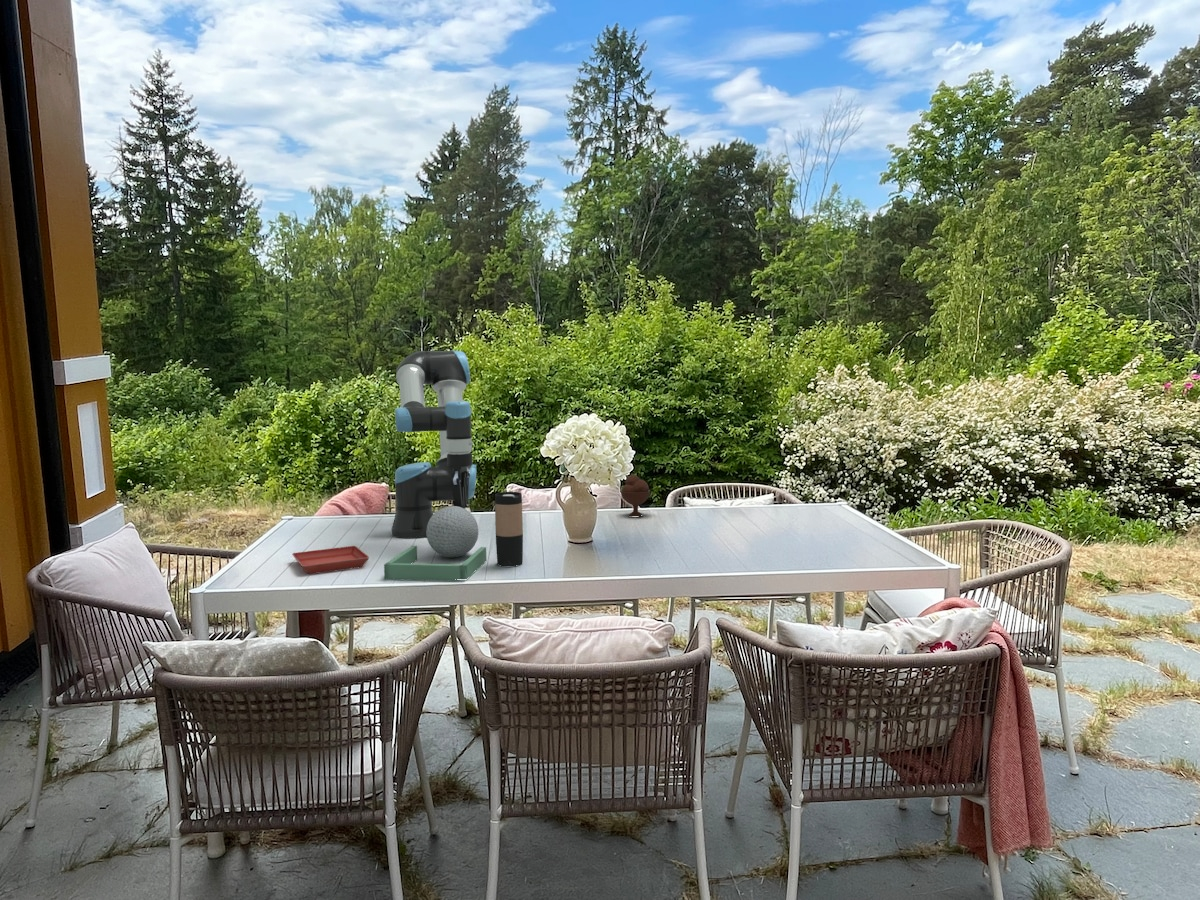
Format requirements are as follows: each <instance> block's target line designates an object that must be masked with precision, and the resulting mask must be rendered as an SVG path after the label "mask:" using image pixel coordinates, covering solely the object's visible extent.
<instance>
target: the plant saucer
mask: <svg viewBox="0 0 1200 900" xmlns="http://www.w3.org/2000/svg"><path fill="white" fill-rule="evenodd" d="M291 555H292V556H293V557H294V560H296V561H297V562H298V564H299V565H300V566H301V567H302V569H303V571H305V572H306V573H307V574H308V575H311V574H314V575H315V574H319V573H328V572H335V570H337V571H342V570H343V569H344V570H350V568H352V569H358V567H359V568H362V567H364V565H365V564H366V563H367V562H368V560H369V559H370V557H369V555H368V554H366V553H365V552H364V551H362V550H361V549H360V548H359V547H358V546H357V545H350V546H342V547H341V546H340V547H331V548H325V549H324V548H323V549H317V550H307V551H300V552H293V553H291ZM344 570H343V571H344Z"/></svg>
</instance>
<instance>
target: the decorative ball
mask: <svg viewBox="0 0 1200 900" xmlns="http://www.w3.org/2000/svg"><path fill="white" fill-rule="evenodd" d="M426 535H427V536H426V538H427V542H428V544H429V546H430V548H431V549H432V550H433V551H434V552H435V553H436V554H438V555H440V556H442V557H445V558H459V557H461V556H464V555H466V554H467V553H469V552H470V551H471V550H472V549H473V548H474V547H475V545H476V543H477V541H478V538H479V525H478V522H477V520H476V518H475V516H474V515H473V514H472V513H471V512H470V511H469V510H468V509H467V508H466V509H464V508H461V507H458V506H454V505H449V506H445V507H442V508H440V509H438V510H437V511H435V512H433V515H432V517H431V518H430V520H429V522H428V525H427V530H426Z"/></svg>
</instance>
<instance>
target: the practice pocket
mask: <svg viewBox="0 0 1200 900" xmlns="http://www.w3.org/2000/svg"><path fill="white" fill-rule="evenodd" d="M415 560H416V561H417V560H418V546H417V545H411V546H410V547H408V548H407V549H405V550H403V551H402V552H400V553H399V554H397V555H396V556H394V557H393V558H392V559H390V560H389V561H387V562H386V563H384V564H383V572H384V580H394V579H412V580H411V581H440V580H455V579H456V580H457V579H467V578H468V577H469V576H470V575H471V574H472V573H473V572H474V571H475V570H477V568H479V567H480V566H481V565H482V564H483V563H484V562H485V561H486V562H487V547H486V546H480V547H479V548H478V549H477V550H476V551H475V552H474V553H473V554H472V555H471V556H469V557H468V558H467V559H466V560H465V561H463V562H462V563H461V564H458V563H457V564H454V563H449V564H447V563H446V564H445V563H415V562H416V561H415ZM414 561H415V562H414ZM412 562H413V563H412ZM486 562H485V563H486ZM411 563H412V564H411ZM485 563H484V564H485ZM484 564H483V565H484ZM483 565H482V566H483ZM482 566H481V567H482ZM481 567H480V568H481ZM480 568H479V569H480ZM477 571H478V570H477ZM474 573H475V572H474ZM474 573H473V574H474ZM473 574H472V575H473ZM472 575H471V576H472ZM471 576H470V577H471ZM470 577H469V578H470ZM469 578H468V579H469ZM468 579H467V580H468Z"/></svg>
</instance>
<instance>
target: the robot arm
mask: <svg viewBox="0 0 1200 900" xmlns="http://www.w3.org/2000/svg"><path fill="white" fill-rule="evenodd" d="M395 374H396V375H395V377H396V383H397V384H398V385H399V396H400V407H397V408H396V409H394V412H395V413H394V417H395V419H394V422H395V430H396V431H397V432H400V433H413V432H414V433H418V432H419V433H420V432H421V433H422V432H439V444H440V458H438V459H437V460H436V466H432V464H431V463H430V462H428V461H424V462H423V461H421V462H415V463H409V464H404V465H402V466H399V467H398V468H397V469H396V470H395V473H394V484H395V507H396V508H395V515H394V519H393V523H392V526H391V536H392V535H393V537H395V538H400V537H403V538H404V539H408V538H409V539H417V538H425V537H426V538H427V535H426V530H427V525H428V522H429V520H430V518H431V517H432V515H433V514H434V512H433V504H432V503H433V502H445V501H446V502H448V501H449V502H450V501H453V506H458V507H461V508H464V509H466V510H467V508H468V509H469V508H470V505H469V500H470V499H473V497H474V495H475V493H476V492H475V491H476V484H477V483H476V482H477V465H476V464H474V462H473V454H472V451H473V445H474V441H473V440H472V438H473V437H472V409H471V403H470V402H469V401H465V400H464V397H463V391H465V390H466V389H467V385H468V384H470V382H471V374H470V365H469V360H468V358H467V355H466V354H465V352H463V351H461V350H454V349H451V350H419V351H415V352H413V353H410V354H408V355H407V356H406V357H404V359H402V360H401V361H400V363H399V364H398V366H397V369H396V372H395ZM424 385H432V390H433V392H435V393H436V395H437V406H426V402H425V391H424ZM403 538H402V539H403Z"/></svg>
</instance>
